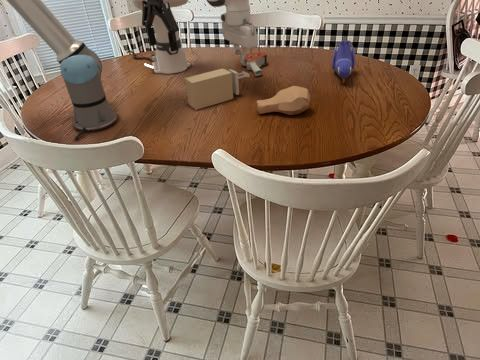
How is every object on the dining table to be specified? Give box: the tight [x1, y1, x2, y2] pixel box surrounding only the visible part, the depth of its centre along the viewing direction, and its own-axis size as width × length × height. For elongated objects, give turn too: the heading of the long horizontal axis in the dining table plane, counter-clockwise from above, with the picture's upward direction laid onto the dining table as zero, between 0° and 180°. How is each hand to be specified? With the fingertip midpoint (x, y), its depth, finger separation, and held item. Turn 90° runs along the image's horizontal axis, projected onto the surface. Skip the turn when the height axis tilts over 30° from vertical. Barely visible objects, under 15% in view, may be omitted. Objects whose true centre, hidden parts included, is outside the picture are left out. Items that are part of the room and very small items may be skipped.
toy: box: [331, 39, 356, 84], centre depth 153 cm, size 10×17×25 cm
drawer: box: [228, 68, 251, 96], centre depth 143 cm, size 22×5×9 cm, turn 121°
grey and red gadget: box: [239, 51, 268, 77], centre depth 171 cm, size 18×5×20 cm
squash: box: [255, 85, 312, 116], centre depth 130 cm, size 11×20×9 cm, turn 92°
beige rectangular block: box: [184, 68, 234, 111], centre depth 140 cm, size 17×7×11 cm, turn 121°
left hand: (163, 48), depth 138 cm, fingers open, 13 cm apart
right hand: (240, 55), depth 140 cm, fingers open, 3 cm apart
